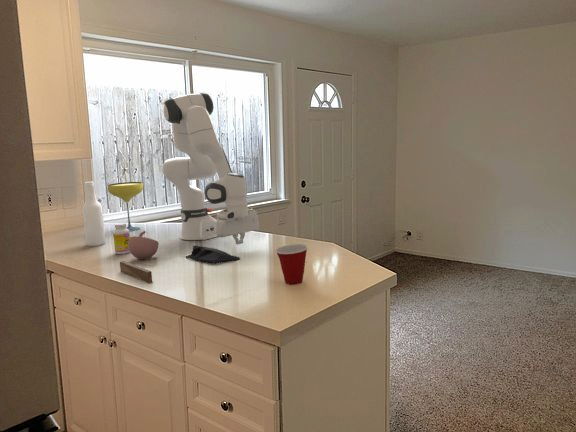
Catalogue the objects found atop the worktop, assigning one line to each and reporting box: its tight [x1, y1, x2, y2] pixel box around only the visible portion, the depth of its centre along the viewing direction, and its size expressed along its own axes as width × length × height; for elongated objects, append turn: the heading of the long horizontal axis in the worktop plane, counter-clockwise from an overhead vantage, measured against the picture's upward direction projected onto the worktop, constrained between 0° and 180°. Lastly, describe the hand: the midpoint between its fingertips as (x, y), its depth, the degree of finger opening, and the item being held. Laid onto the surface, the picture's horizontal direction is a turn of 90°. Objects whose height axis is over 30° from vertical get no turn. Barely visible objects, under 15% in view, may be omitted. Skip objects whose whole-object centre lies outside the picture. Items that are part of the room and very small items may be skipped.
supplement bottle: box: [112, 222, 131, 255], centre depth 215 cm, size 7×7×13 cm
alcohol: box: [81, 180, 107, 247], centre depth 232 cm, size 9×9×30 cm
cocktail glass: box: [107, 181, 144, 232], centre depth 266 cm, size 18×18×25 cm
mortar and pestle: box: [128, 230, 160, 260], centre depth 203 cm, size 12×12×11 cm
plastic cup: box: [275, 243, 309, 286], centre depth 162 cm, size 11×11×12 cm
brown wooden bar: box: [119, 260, 153, 284], centre depth 177 cm, size 2×22×4 cm, turn 43°
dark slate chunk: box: [185, 244, 241, 265], centre depth 199 cm, size 15×22×5 cm
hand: (239, 243), depth 209 cm, fingers closed
